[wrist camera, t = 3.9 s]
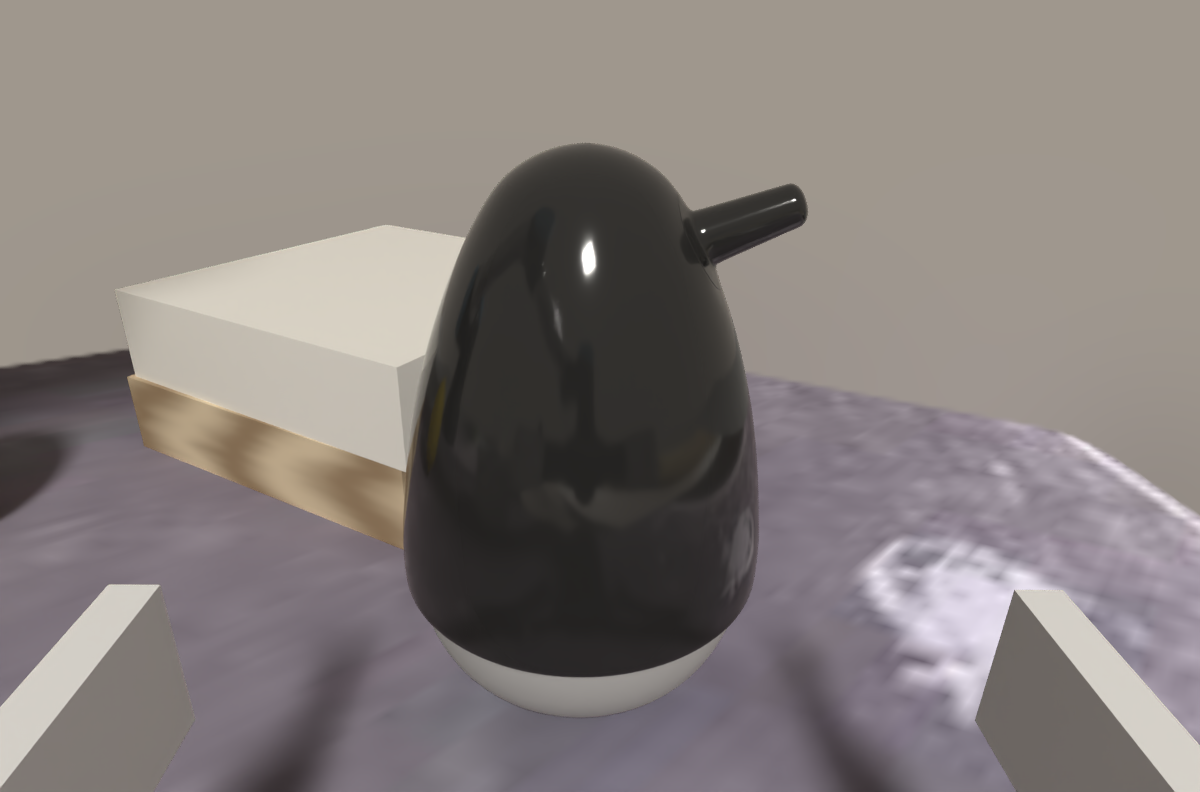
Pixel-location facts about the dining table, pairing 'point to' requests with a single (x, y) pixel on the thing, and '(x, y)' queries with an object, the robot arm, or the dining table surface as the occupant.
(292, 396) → the tower top
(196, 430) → the tower base
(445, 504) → the pump dispenser
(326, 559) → the dining table surface
